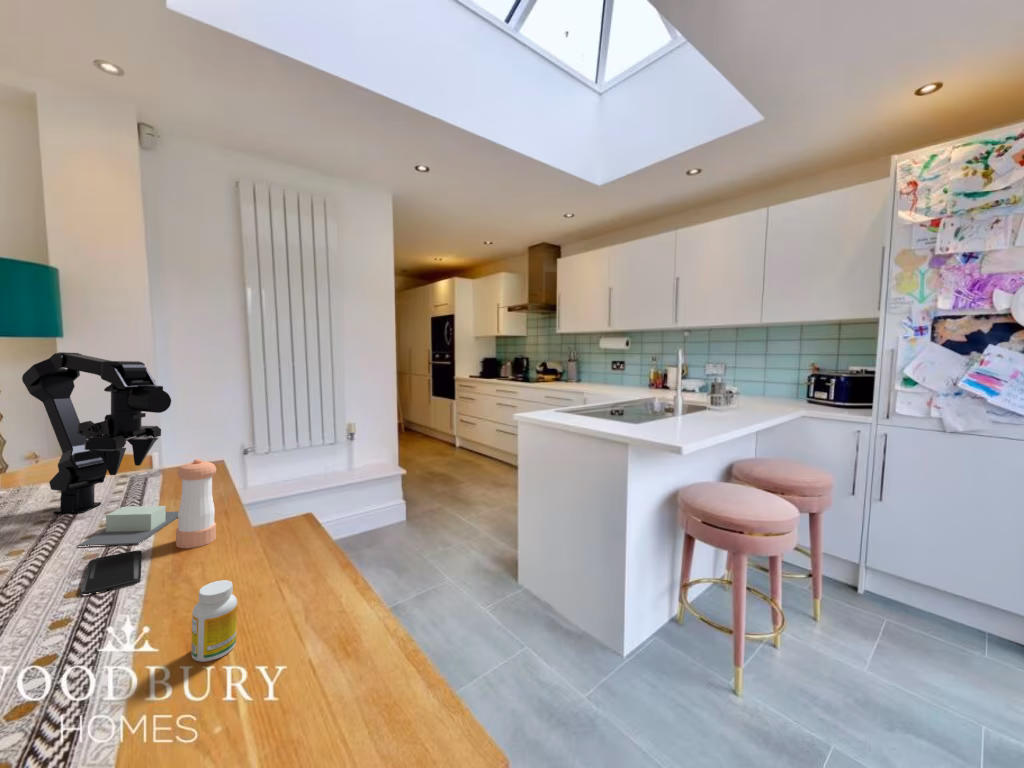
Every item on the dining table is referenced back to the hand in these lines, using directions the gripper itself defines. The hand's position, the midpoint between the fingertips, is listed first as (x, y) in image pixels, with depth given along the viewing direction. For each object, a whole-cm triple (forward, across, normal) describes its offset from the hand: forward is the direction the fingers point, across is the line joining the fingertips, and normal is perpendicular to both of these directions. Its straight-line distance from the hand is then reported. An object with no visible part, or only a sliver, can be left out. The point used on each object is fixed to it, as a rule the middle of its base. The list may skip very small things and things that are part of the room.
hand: (126, 470), depth 104 cm
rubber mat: (+12, +9, +8) cm, 17 cm away
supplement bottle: (+12, +57, +44) cm, 73 cm away
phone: (+13, +31, +16) cm, 37 cm away
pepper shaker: (+12, +18, +24) cm, 32 cm away
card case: (+12, +9, +7) cm, 16 cm away
